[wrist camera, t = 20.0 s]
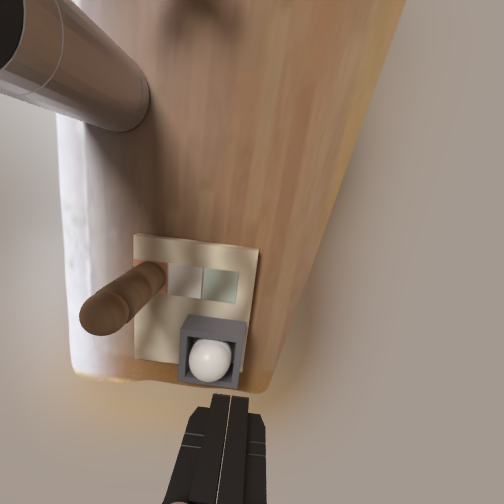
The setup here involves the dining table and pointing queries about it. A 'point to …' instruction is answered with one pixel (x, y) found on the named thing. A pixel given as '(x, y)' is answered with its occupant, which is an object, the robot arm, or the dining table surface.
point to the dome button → (210, 359)
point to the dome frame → (215, 331)
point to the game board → (191, 291)
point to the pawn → (121, 299)
